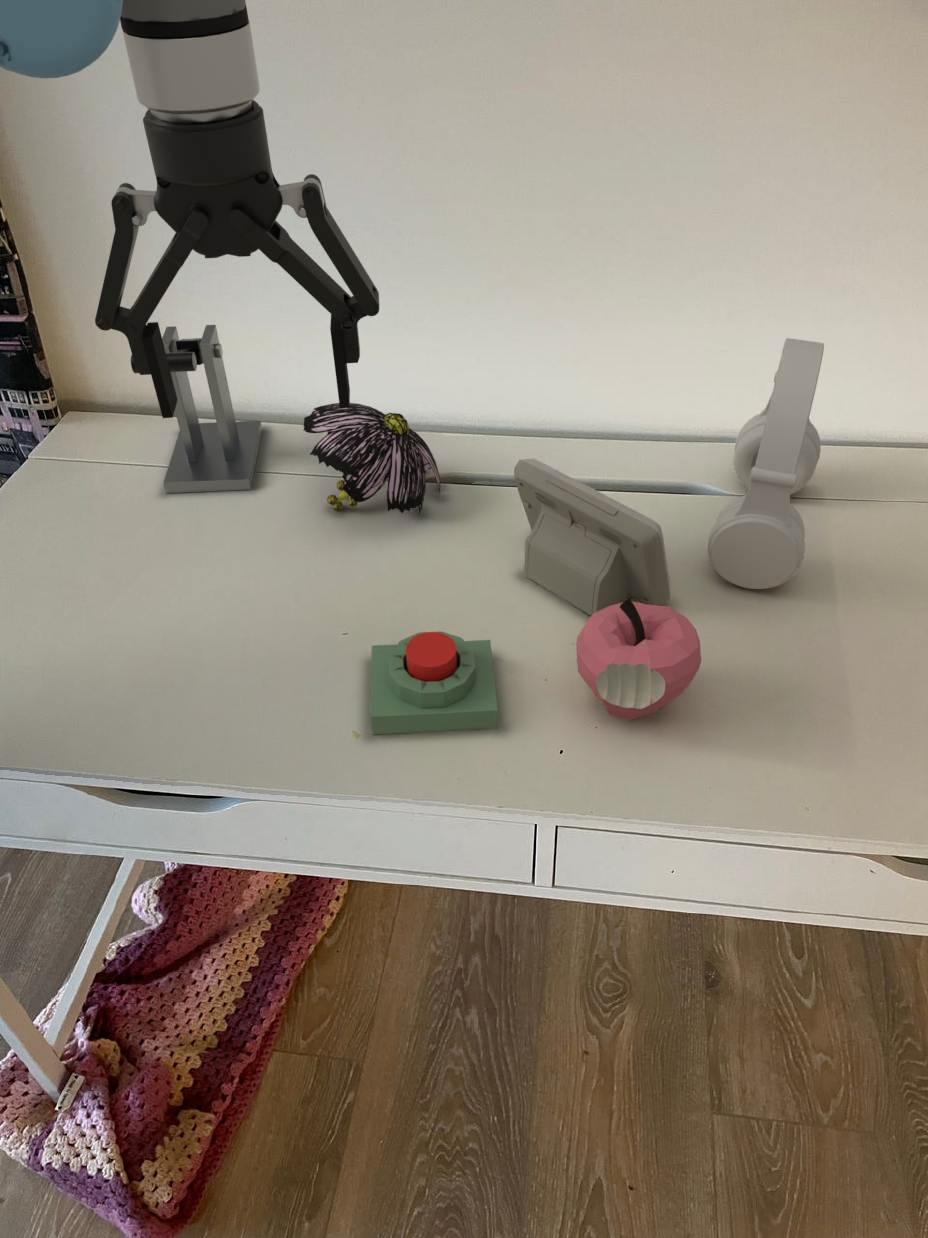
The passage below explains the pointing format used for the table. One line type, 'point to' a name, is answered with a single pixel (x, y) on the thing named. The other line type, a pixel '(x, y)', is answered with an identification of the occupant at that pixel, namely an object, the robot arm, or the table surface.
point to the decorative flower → (372, 455)
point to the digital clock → (588, 542)
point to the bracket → (209, 430)
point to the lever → (182, 356)
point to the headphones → (771, 479)
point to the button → (431, 656)
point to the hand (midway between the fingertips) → (258, 404)
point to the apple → (637, 657)
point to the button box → (433, 691)
